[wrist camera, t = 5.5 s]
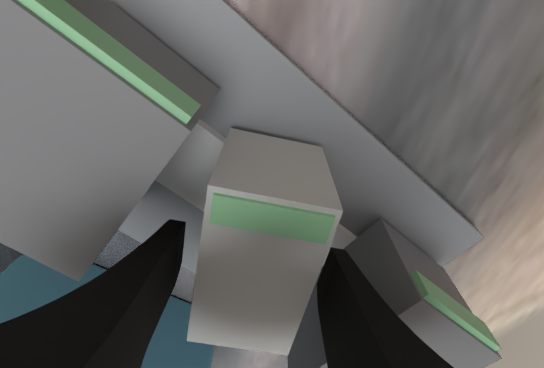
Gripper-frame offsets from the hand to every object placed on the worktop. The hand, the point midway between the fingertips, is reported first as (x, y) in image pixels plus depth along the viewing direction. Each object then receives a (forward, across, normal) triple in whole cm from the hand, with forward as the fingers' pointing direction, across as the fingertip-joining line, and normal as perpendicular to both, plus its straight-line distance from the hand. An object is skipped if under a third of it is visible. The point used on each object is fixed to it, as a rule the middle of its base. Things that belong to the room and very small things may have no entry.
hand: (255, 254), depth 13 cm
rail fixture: (+5, 0, 0) cm, 5 cm away
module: (+3, 0, 0) cm, 3 cm away
